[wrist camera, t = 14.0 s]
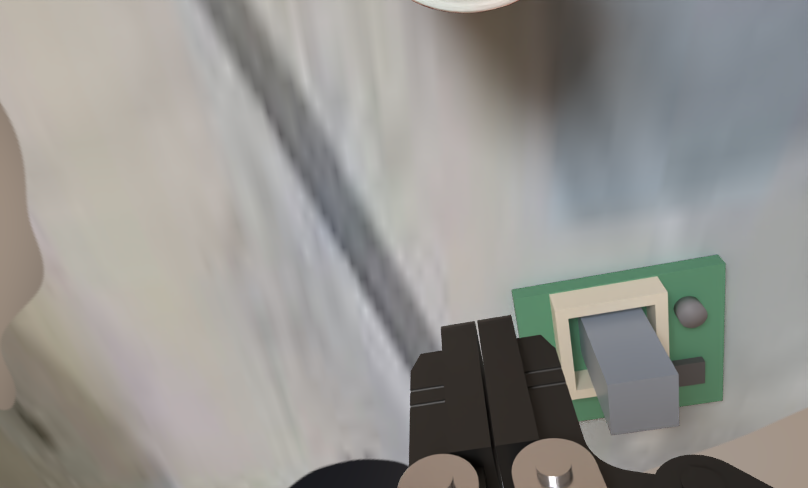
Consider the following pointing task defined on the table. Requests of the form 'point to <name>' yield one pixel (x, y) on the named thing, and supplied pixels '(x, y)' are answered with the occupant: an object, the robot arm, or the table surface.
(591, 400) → the board
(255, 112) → the table surface
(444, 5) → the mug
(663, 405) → the plug
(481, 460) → the robot arm
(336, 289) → the table surface
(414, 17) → the table surface
